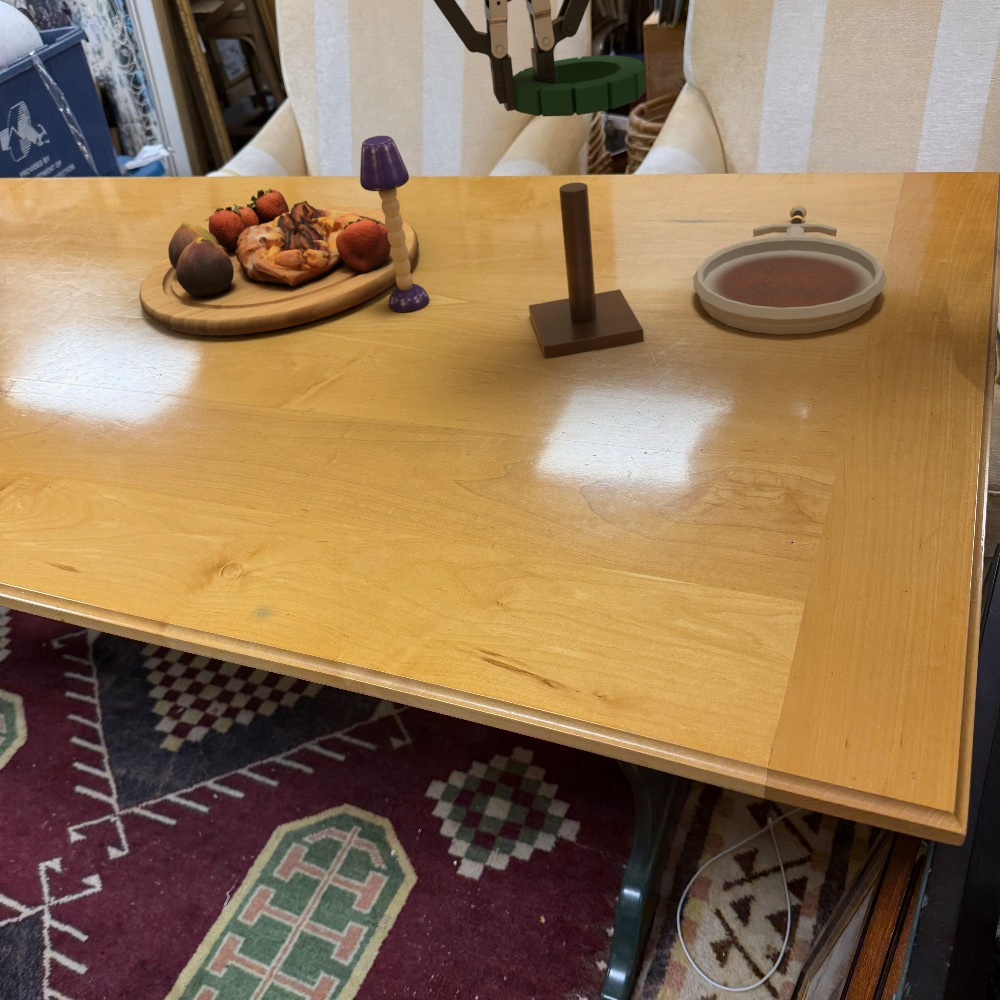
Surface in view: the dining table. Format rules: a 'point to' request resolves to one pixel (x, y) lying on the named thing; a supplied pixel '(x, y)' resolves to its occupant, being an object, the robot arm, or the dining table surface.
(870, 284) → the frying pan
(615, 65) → the ring
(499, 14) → the robot arm
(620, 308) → the post
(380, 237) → the wooden plate
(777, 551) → the dining table surface
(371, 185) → the toy lamp
